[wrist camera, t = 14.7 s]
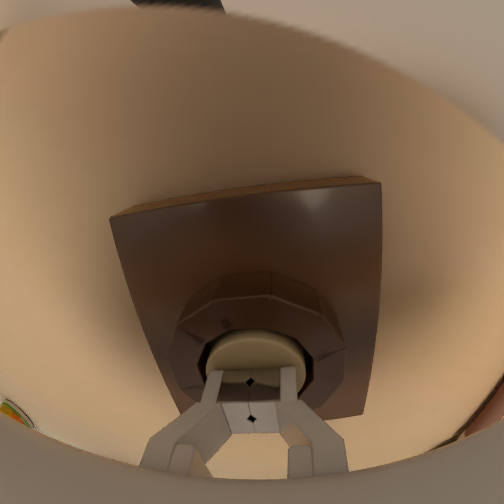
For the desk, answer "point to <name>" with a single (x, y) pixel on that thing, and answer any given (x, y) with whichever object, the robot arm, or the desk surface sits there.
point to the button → (256, 352)
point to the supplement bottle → (15, 413)
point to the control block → (261, 280)
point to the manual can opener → (488, 414)
